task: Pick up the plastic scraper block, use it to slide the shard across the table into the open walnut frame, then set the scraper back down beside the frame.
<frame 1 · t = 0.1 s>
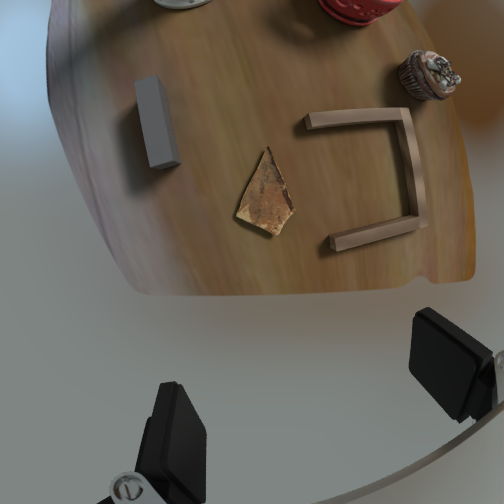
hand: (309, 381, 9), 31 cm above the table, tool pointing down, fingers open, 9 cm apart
walnut frame: (365, 174, 39), on the table
cupcake: (414, 81, 36), on the table
scraper block: (162, 127, 35), on the table
shard: (258, 195, 39), on the table
plant pot: (342, 6, 31), on the table
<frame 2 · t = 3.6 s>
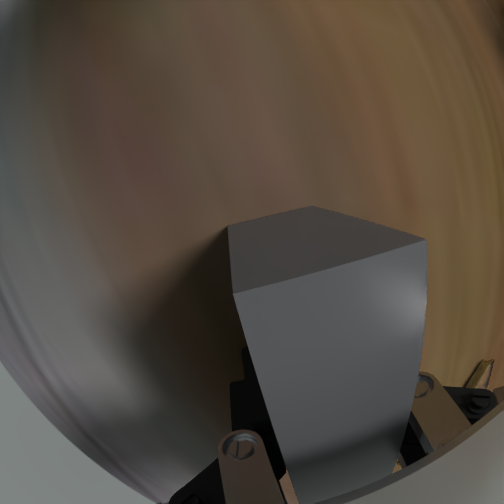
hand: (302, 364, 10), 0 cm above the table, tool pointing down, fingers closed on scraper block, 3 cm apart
scraper block: (299, 357, 11), on the table, touching gripper
shard: (440, 420, 15), on the table
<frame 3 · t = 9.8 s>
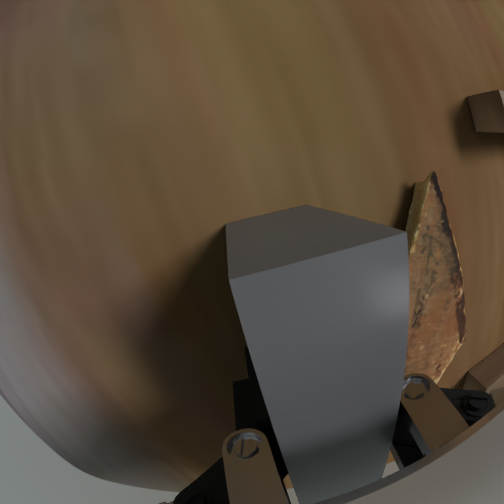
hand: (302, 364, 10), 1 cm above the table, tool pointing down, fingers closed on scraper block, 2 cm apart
scraper block: (295, 352, 11), on the table, touching gripper
shard: (390, 317, 12), on the table
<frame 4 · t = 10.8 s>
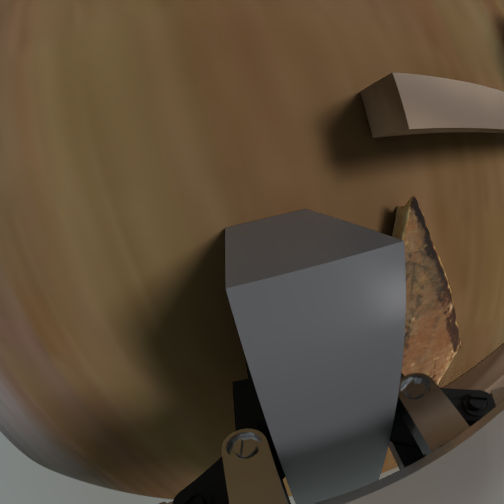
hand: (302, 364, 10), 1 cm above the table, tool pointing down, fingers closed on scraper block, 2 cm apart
walnut frame: (490, 268, 12), on the table
scraper block: (294, 354, 11), on the table, touching shard, gripper
shard: (380, 336, 12), on the table, touching scraper block
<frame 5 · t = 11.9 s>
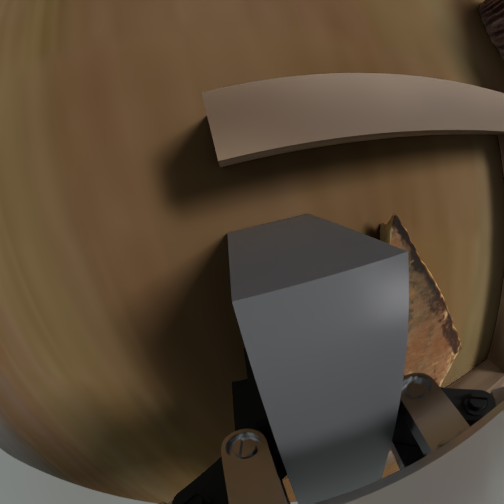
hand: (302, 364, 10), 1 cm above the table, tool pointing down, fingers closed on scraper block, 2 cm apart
walnut frame: (423, 305, 12), on the table
scraper block: (296, 358, 11), on the table, touching gripper
shard: (377, 347, 13), on the table
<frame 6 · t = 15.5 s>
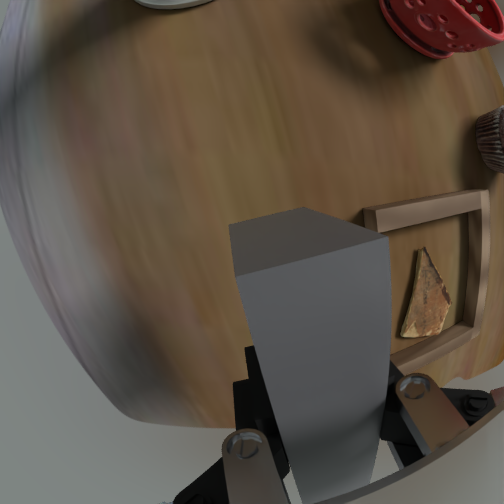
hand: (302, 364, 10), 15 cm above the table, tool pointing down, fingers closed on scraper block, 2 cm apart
walnut frame: (426, 284, 27), on the table
cupcake: (489, 142, 24), on the table
scraper block: (293, 344, 12), point 13 cm above the table, touching gripper
shard: (415, 301, 28), on the table
plant pot: (410, 25, 20), on the table
when the fingers open (2 cm above the table, at t = 18.6 s): scraper block stays where it is, on the table.
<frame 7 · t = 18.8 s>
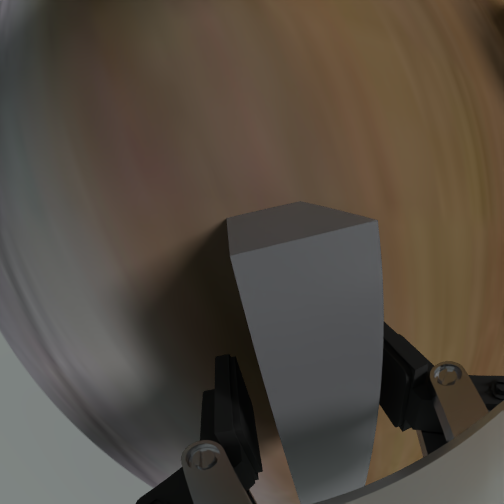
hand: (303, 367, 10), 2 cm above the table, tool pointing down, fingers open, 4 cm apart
scraper block: (290, 337, 12), on the table
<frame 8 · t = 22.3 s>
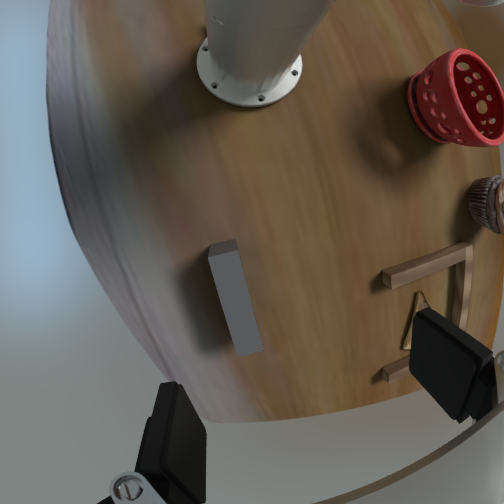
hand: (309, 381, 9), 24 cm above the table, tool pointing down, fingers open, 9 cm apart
walnut frame: (422, 313, 38), on the table
cupcake: (479, 201, 35), on the table
scraper block: (235, 287, 34), on the table
shard: (413, 324, 40), on the table
plant pot: (428, 108, 31), on the table
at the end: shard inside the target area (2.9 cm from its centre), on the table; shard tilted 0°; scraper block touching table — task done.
